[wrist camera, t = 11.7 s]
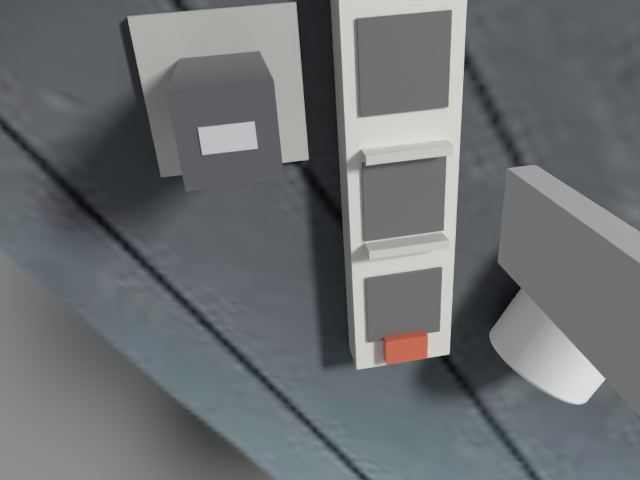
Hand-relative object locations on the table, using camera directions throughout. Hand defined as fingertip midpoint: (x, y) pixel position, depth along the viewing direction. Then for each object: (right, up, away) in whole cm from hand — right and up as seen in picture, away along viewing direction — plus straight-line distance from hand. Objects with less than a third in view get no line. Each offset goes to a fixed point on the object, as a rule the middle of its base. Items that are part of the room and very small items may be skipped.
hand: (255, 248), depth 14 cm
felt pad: (-4, +9, +18) cm, 21 cm away
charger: (-4, +9, +18) cm, 20 cm away
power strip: (+6, +8, +21) cm, 23 cm away
